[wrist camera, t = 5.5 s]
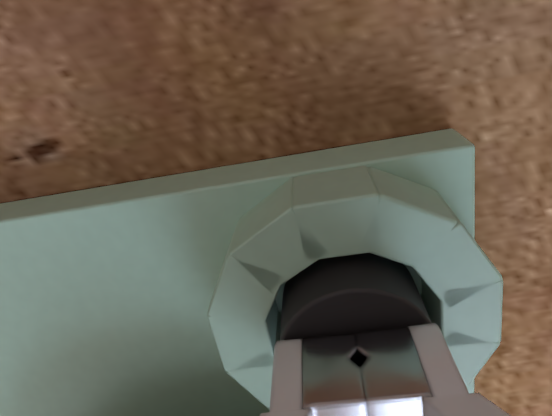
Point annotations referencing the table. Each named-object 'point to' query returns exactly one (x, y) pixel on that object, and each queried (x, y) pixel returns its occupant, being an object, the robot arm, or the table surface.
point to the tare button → (350, 298)
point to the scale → (226, 274)
